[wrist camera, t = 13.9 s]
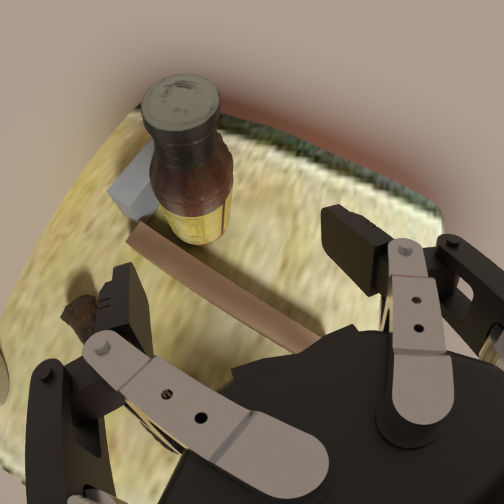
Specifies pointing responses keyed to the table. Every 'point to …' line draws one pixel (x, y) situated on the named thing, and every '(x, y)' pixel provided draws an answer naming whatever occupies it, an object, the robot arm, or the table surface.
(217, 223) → the sauce bottle
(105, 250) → the table surface
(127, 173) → the end stop
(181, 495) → the robot arm
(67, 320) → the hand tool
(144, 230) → the walnut straightedge
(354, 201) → the table surface
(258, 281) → the table surface
